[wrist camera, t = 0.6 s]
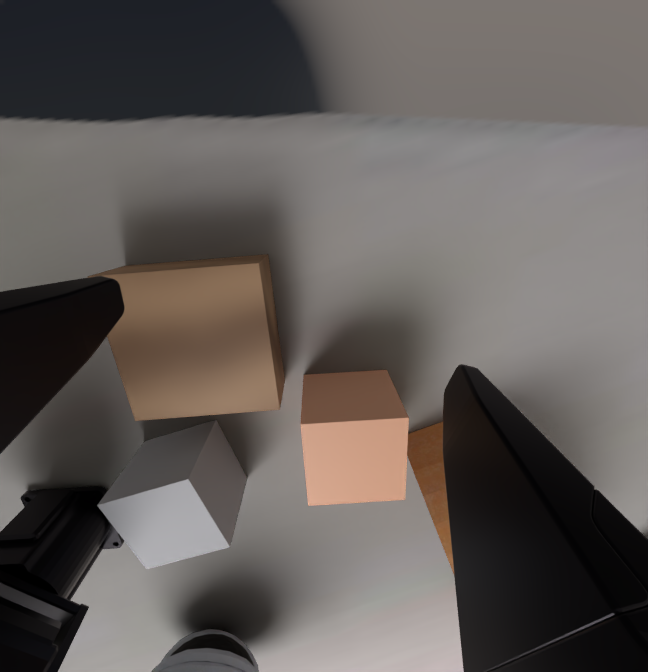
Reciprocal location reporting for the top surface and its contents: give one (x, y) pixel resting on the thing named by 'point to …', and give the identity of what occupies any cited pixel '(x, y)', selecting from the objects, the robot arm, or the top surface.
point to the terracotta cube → (353, 438)
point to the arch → (432, 478)
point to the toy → (208, 654)
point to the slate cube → (177, 496)
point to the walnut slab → (198, 337)
